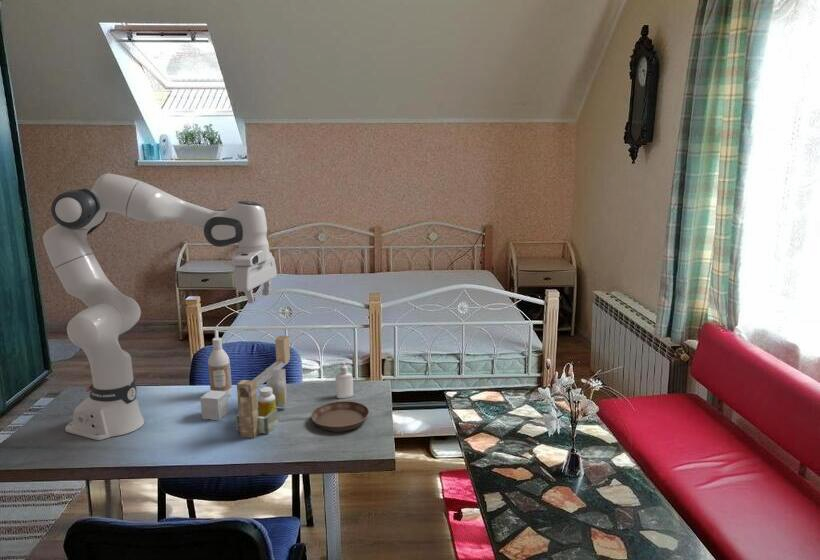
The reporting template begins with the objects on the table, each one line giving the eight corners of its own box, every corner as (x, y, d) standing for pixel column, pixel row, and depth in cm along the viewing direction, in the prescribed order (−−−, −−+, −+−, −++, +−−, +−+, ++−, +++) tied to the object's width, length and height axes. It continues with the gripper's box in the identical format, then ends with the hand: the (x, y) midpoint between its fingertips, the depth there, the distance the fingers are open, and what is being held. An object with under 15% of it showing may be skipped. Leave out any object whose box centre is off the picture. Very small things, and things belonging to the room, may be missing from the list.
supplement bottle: (272, 422, 194) (270, 393, 191) (255, 421, 195) (253, 392, 192) (279, 415, 199) (277, 386, 196) (263, 413, 200) (261, 385, 198)
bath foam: (210, 399, 211) (204, 342, 206) (212, 391, 217) (207, 336, 213) (231, 397, 212) (226, 341, 208) (232, 389, 219) (228, 334, 214)
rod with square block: (241, 430, 187) (236, 363, 182) (279, 394, 212) (276, 335, 207) (259, 432, 185) (255, 364, 180) (296, 396, 210) (293, 336, 205)
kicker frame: (232, 435, 186) (227, 382, 182) (248, 420, 195) (244, 370, 191) (263, 439, 183) (259, 385, 179) (278, 423, 193) (275, 372, 189)
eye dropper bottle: (351, 399, 210) (350, 365, 207) (335, 398, 211) (333, 364, 208) (354, 394, 214) (353, 360, 211) (338, 393, 215) (337, 360, 212)
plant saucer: (307, 435, 186) (306, 426, 185) (316, 409, 203) (315, 401, 202) (367, 435, 185) (367, 425, 185) (371, 409, 203) (371, 400, 202)
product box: (219, 421, 195) (217, 399, 194) (201, 419, 196) (199, 397, 195) (229, 412, 201) (227, 391, 199) (211, 411, 202) (209, 389, 201)
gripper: (261, 248, 201) (265, 290, 205) (228, 261, 182) (233, 307, 185) (279, 248, 200) (283, 290, 203) (247, 261, 181) (252, 307, 184)
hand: (259, 298), depth 194 cm, fingers open, 8 cm apart
